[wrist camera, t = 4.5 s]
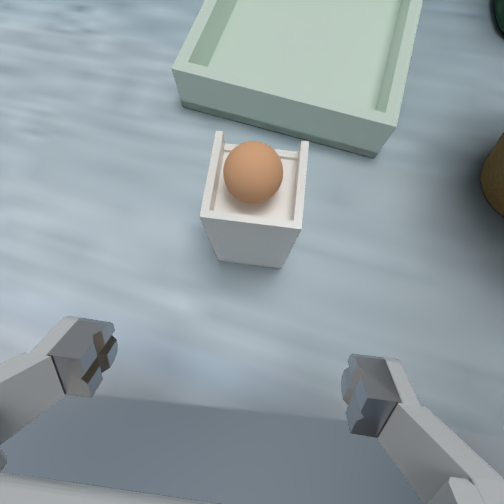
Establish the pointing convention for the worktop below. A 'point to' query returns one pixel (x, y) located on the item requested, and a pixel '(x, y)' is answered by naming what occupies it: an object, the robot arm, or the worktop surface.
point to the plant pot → (494, 177)
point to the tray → (302, 67)
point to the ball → (253, 172)
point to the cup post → (254, 212)
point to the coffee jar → (499, 13)
